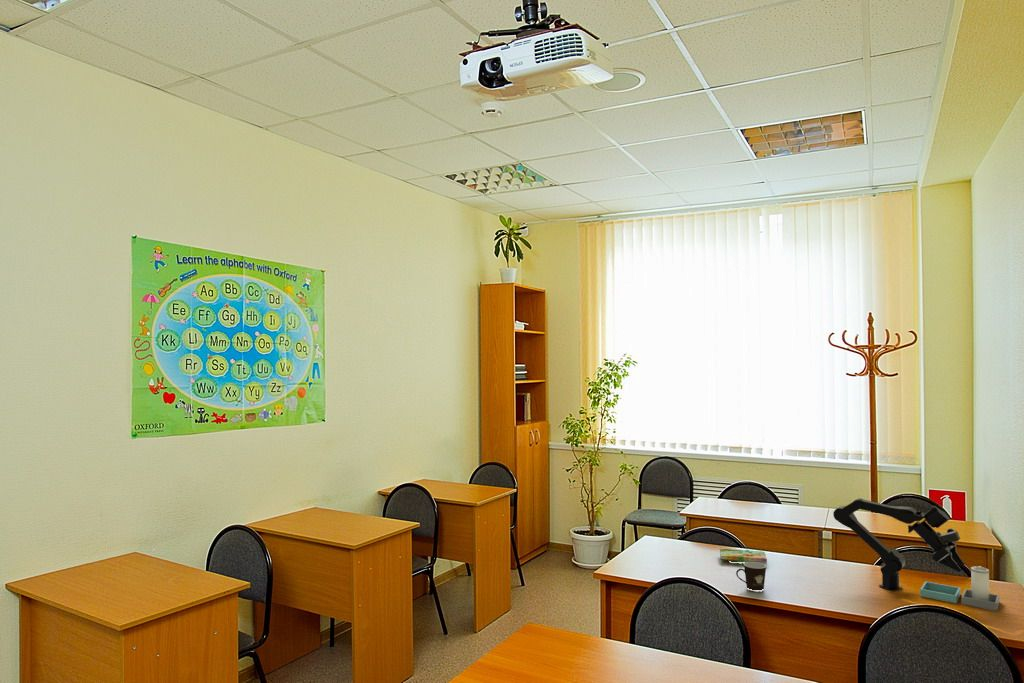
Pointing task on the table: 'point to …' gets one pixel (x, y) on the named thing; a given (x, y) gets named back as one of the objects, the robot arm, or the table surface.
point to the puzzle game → (743, 556)
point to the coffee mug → (754, 575)
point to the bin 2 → (980, 601)
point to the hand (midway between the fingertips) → (962, 568)
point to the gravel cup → (980, 583)
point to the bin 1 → (940, 592)
